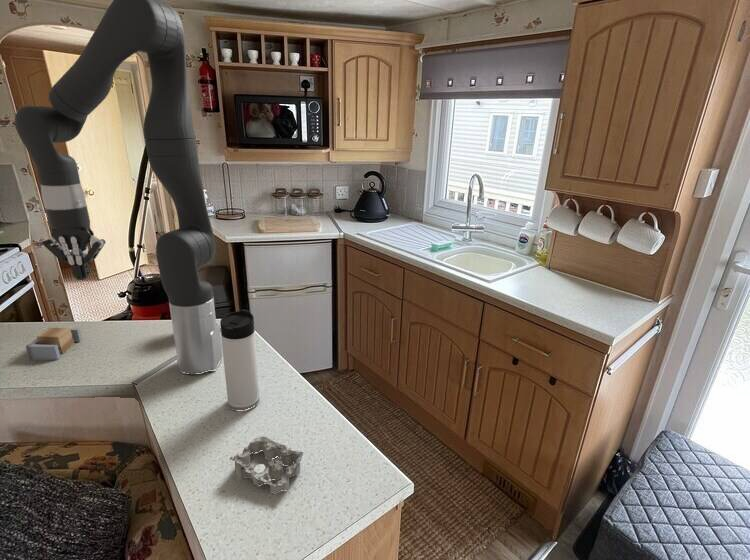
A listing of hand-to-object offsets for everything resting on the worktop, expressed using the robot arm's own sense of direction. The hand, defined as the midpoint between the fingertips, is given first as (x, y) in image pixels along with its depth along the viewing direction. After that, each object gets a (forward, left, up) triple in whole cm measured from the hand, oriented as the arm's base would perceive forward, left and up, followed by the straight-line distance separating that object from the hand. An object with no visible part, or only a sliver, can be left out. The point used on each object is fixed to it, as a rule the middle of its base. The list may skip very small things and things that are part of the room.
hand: (82, 278), depth 97 cm
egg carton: (-49, +39, -19) cm, 66 cm away
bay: (+10, 0, -19) cm, 21 cm away
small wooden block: (+10, 0, -19) cm, 21 cm away
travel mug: (-41, +20, -19) cm, 49 cm away
